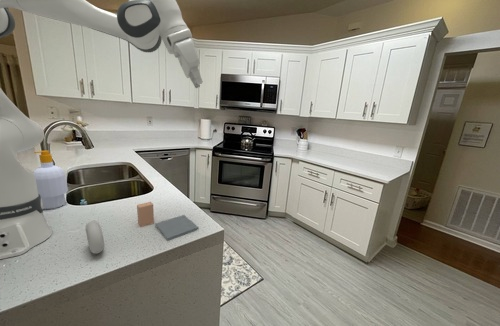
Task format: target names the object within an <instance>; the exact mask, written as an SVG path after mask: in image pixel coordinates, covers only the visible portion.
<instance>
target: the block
mask: <svg viewBox="0 0 500 326" xmlns="http://www.w3.org/2000/svg"><path fill="white" fill-rule="evenodd" d="M136 210H137V211H136V212H137V213H136V214H137V224H138V225H139V227H140V228H142V227H144V226H148V225H151V224H155V214H154V211H155V210H154V203H153V202H152V201H148V202H143V203H138V204H136Z"/></svg>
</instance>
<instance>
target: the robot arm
mask: <svg viewBox="0 0 500 326" xmlns="http://www.w3.org/2000/svg"><path fill="white" fill-rule="evenodd" d="M8 8H9V9H17V10H19V11H23V12H26V13H29V14H32V15H36V16H39V17H44V18H47V19H52V20H54V21H55V20H56V21H61V22H65V23H69V24H73V25H76V26H81V27H83V28H84V27H85V28H88V29H92V30H94V31H97V32H100V33H103V34H106V35H109V36H111V37H115V38H118V39H120V40H124V41H126V42H127V43H129V44H131V45H132V46H133V47H134V48H136V49H137V50H139V51H141V52H143V53H153V52H155V51H157V50H158V49H159V48H160V47H161V44H162V42H163V45H164V46H165V48H166V50H167V52H168V54H169V55H174V57H175V58H177V60H178V63H179V64H180V67H181V69H182V71H183V73H184V76H185V77H186V79H189V80H190V81H191V83H192V85H193V86H194V88H195V89H199V88H201V87H200V86H201V84H203V83H204V81H203V79H202V77H201V72H200V69H199V67H200V58H199V55H198V53H197V50H196V46H195V41H194V38H193V34H192V32H191V30H190V28H189V27H188V25H187V23H186V22H185V21H184V19H183V16H182V14H183V13H182V11H181V9H180V6H179V3H178V2H177V0H128V1H125V2H123V3H121V4H120V6H119V7H118V8H117V11H116V14H114V13H113V12H110V11H107V10H104V9H103V8H99V7H97V6H95V5H93V4H92V3H90V2H89V1H87V0H0V39H1V38H5V37H8V36H9V35H11V34H12V33H13V32H14V30H15V28H16V21H15V17H14V16H13V14H12V13H11V11H10V10H9V9H8ZM44 139H45V132H44V129H43V127H42V126H41V125H40V124H39V123H38V122H37V121H34V120H33V119H31V118H29V117H28V116H27V115H26V114H24V112H22V111H21V110H20V109H19V108H18V107H17V106H16V105H15V103H13V101H12V100H11V99H10V98H9V97H8V96H7V94H6V93H5V92H4V91H3V89H2V88H1V87H0V260H2V259H7V258H12V257H16V256H17V257H18V256H21V255H23V254H25V253H27V252H28V251H29V250H31V249H32V248H33V247H36V246H38V245H40V244H41V243H43V242H44V241H45V242H46V240H48V239H49V238H50V237H51V236H52V234H53V230H52V228H51V226H50V225H49V223H48V221H47V219H46V217H45V215H44V208H43V203H42V198H41V196H40V194H38V190H37V185H36V179H35V175H34V173H33V170H32V169H29V168H27V167H25V166H24V165H23V164H22V163H21V161H20V158H19V157H18V154H19V153H23V152H26V151H30V150H31V149H34V148H35V147H37V146H38V145H40V144H41V143H42V142H43V140H44Z"/></svg>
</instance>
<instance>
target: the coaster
mask: <svg viewBox="0 0 500 326" xmlns="http://www.w3.org/2000/svg"><path fill="white" fill-rule="evenodd" d="M154 226H155V228H156V229H157V230H158V232H160V234H161V235H162V236H163V238H164V239H165V240H166V241H167V242H168V241H171V240H174V239H176V238H179V237H182V236H184V235H187V234H191V233H192V232H196V231H198V230H199V226H197V224H196V223H194V222H193V221H192V220H191V219H190V218H189V217H187V216H186V215H185V214H182V215H179V216H175V217H172V218H168V219H166V220H163V221H159V222H156V223H155V222H154ZM197 229H198V230H197Z"/></svg>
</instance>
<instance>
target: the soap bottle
mask: <svg viewBox="0 0 500 326" xmlns="http://www.w3.org/2000/svg"><path fill="white" fill-rule="evenodd" d="M33 154H39V161H40V167H37V168H36V169H34V170H32V172H33V173H34V175H35V179H36V185H37V190H38V194H40V196H41V198H42V203H43V209H46V210H49V209H58V208H60V207H63V206H64V205H65V204H66V203H67V202H66V196H65V194H67V193H68V192H69V188H68V183H67V176H66V172H65V170H64V169H63V168H62V167H60V166H57V165H54V161H53V156H52V154H51V153H50V150H48V149H47V150H41V151H40V150H39V151H33ZM62 205H63V206H62Z"/></svg>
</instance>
